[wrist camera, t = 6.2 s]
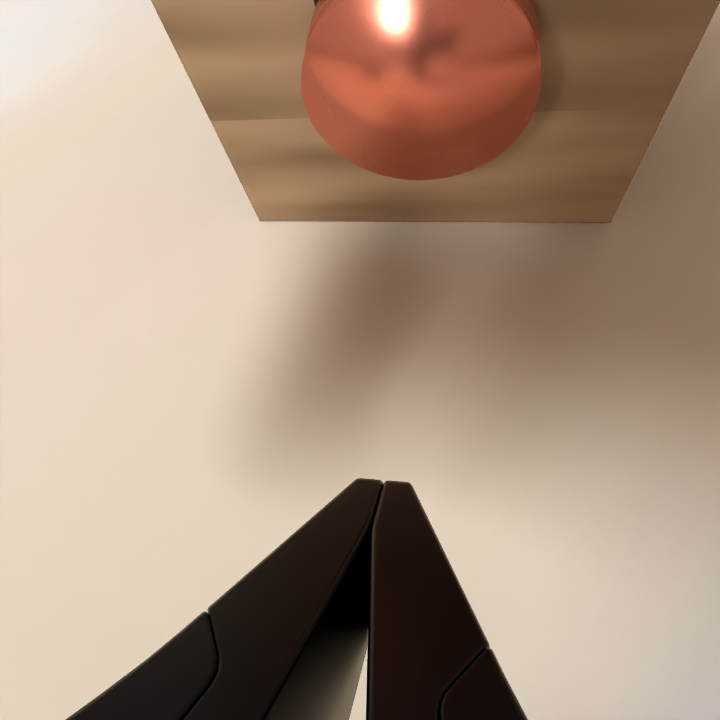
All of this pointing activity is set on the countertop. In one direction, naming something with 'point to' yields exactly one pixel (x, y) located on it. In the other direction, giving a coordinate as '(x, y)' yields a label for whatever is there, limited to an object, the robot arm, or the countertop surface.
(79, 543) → the countertop surface
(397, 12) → the steel pin
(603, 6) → the hitch block
